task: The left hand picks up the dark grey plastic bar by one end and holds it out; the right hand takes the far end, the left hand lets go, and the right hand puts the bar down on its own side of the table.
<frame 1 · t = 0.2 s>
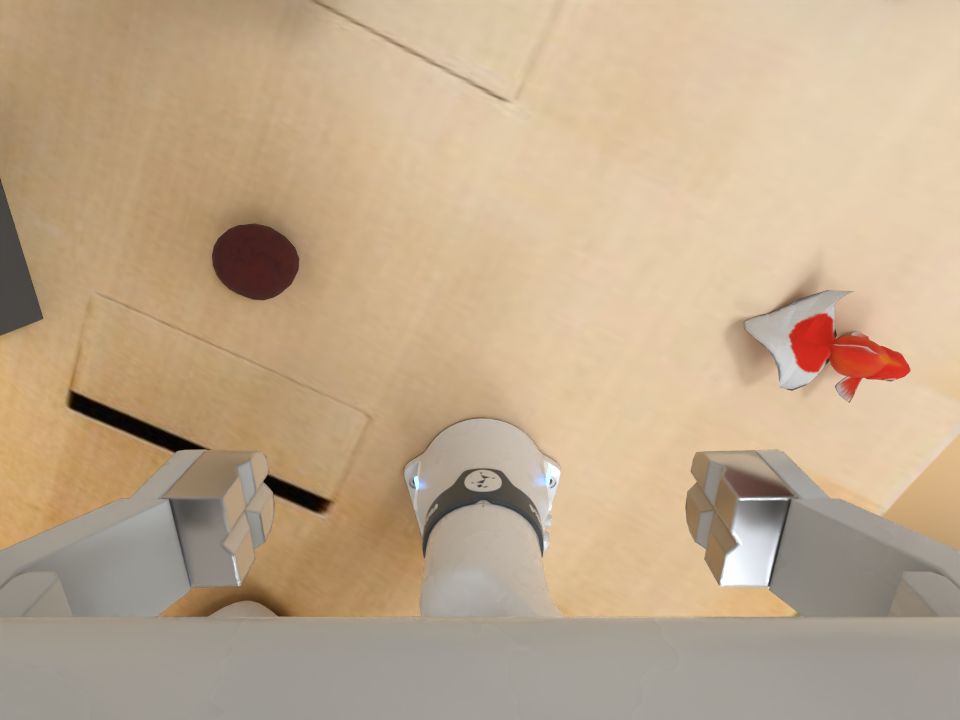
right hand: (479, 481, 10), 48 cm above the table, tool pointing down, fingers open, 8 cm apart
fish: (800, 336, 60), on the table
dark red plum: (270, 255, 56), on the table
grey plastic housing: (270, 651, 77), on the table
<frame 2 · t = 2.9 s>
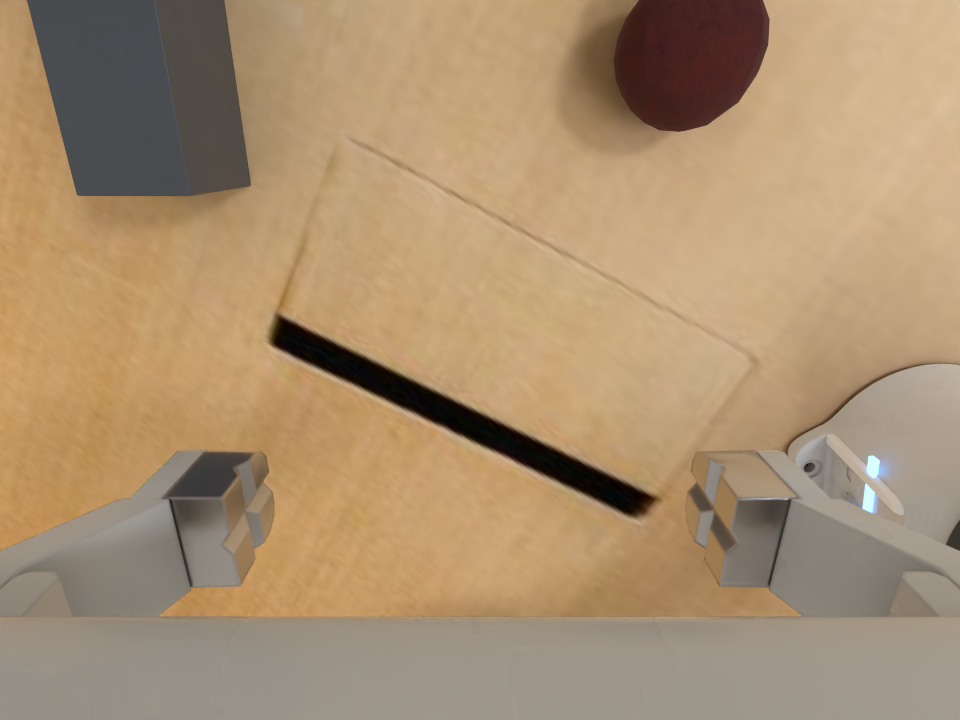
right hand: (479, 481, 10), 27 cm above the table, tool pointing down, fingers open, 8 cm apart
dark red plum: (666, 65, 32), on the table
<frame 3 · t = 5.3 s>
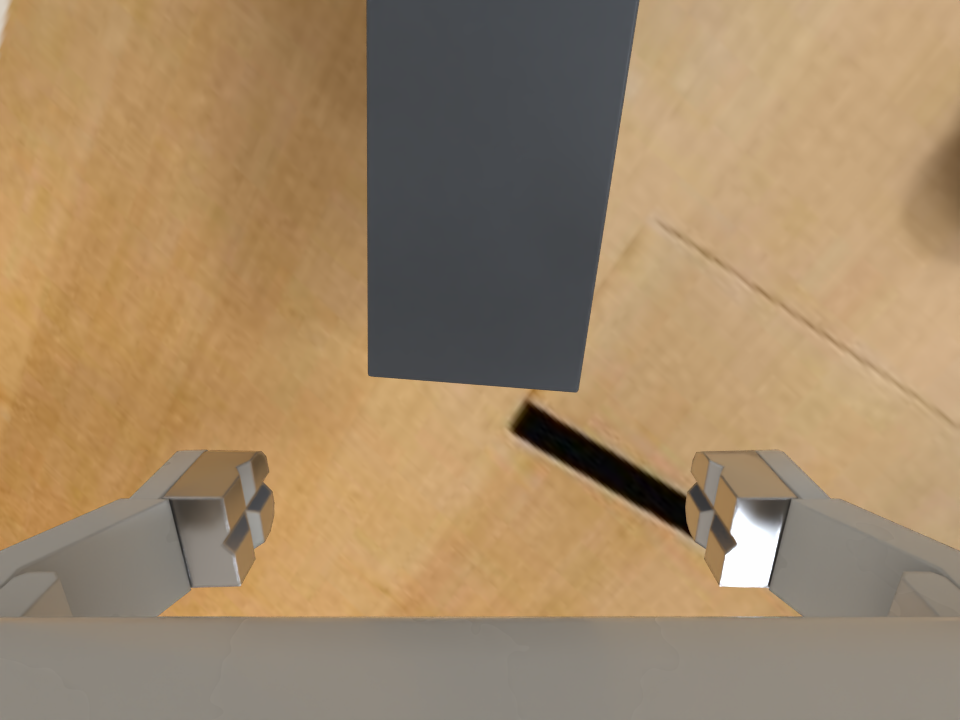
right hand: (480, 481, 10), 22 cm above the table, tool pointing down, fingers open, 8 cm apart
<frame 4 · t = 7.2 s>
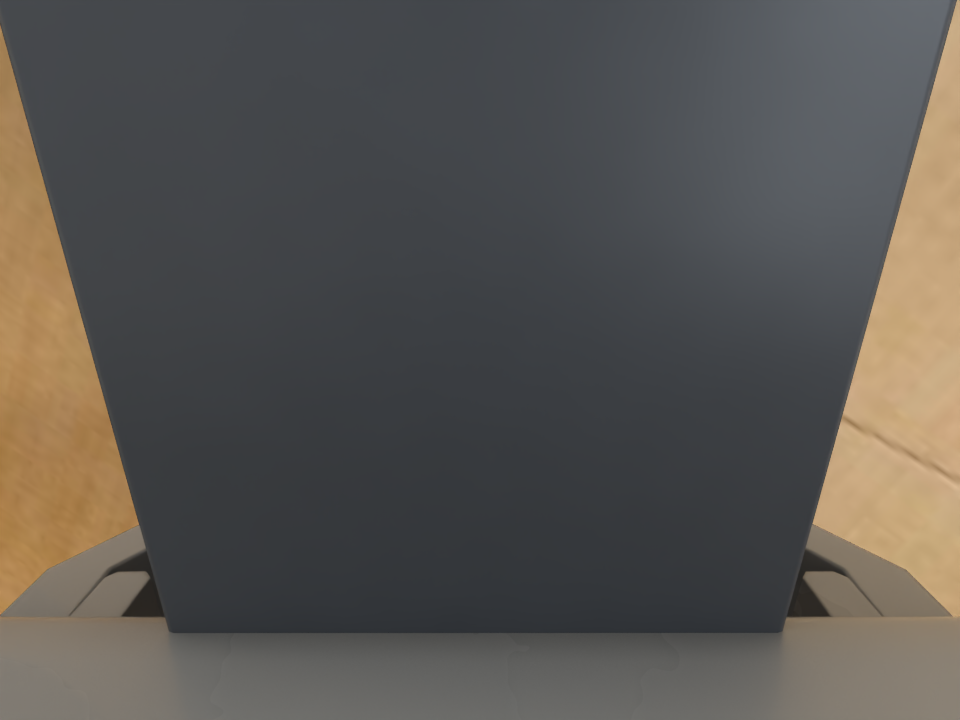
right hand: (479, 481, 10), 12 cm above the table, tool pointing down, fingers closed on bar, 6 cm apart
bar: (478, 75, 10), point 9 cm above the table, touching right hand, left hand
when the left hand's fingers open (10 cm above the table, at t = 8.1 s): bar stays where it is, held by the right hand.
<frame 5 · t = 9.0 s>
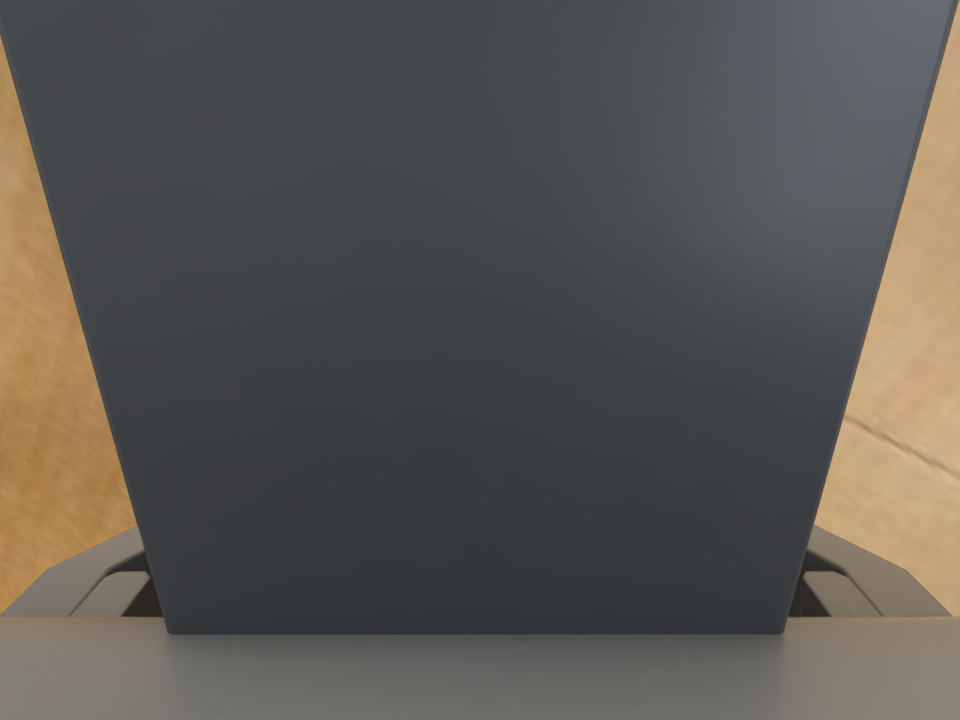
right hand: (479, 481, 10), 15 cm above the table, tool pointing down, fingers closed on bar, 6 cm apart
bar: (478, 74, 10), point 12 cm above the table, touching right hand
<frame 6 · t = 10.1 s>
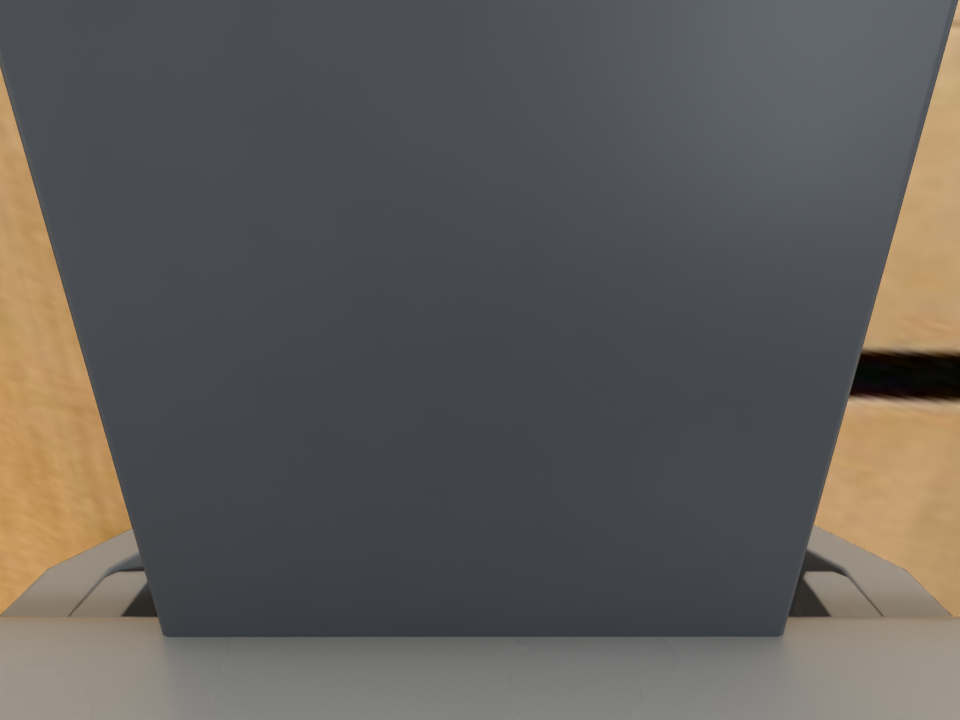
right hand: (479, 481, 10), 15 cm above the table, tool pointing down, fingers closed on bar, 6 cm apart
bar: (476, 73, 10), point 12 cm above the table, touching right hand
when the right hand's fingers open (4 cm above the table, at t = 13.3 s): bar stays where it is, on the table.
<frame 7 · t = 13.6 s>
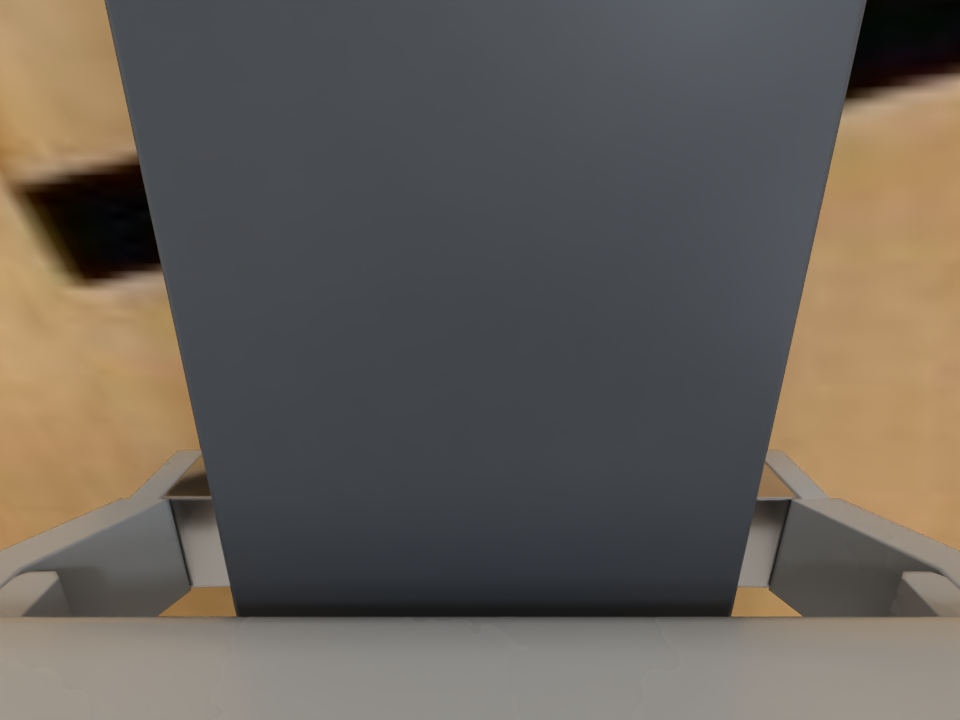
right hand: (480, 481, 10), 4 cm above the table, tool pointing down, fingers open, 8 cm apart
bar: (481, 95, 11), on the table
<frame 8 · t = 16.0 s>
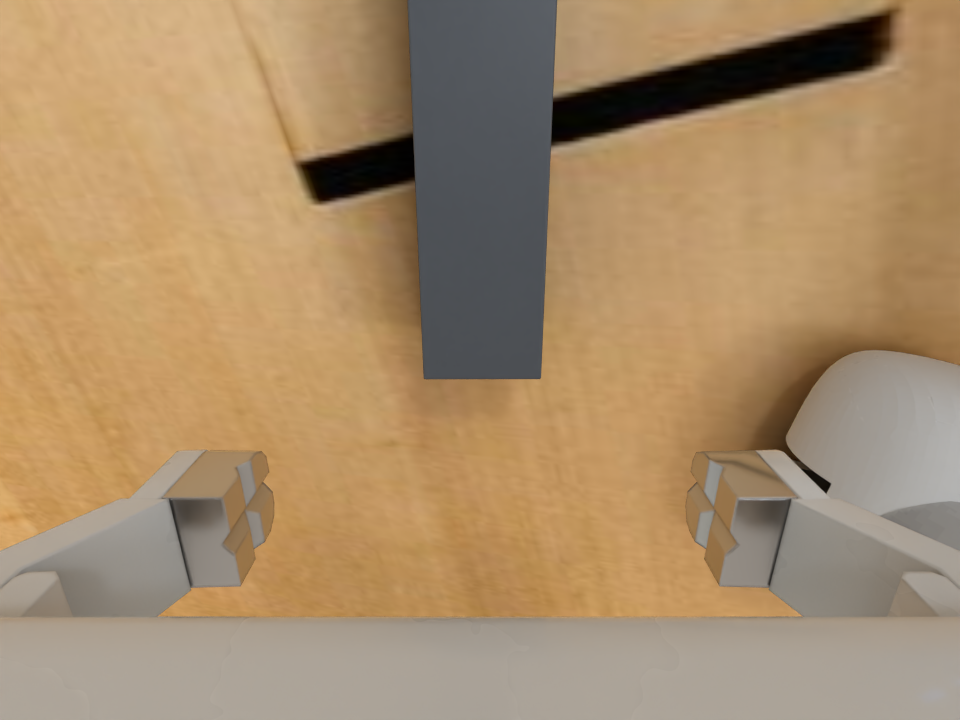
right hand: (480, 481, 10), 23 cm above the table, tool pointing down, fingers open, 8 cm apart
bar: (481, 126, 30), on the table
grey plastic housing: (910, 459, 37), on the table
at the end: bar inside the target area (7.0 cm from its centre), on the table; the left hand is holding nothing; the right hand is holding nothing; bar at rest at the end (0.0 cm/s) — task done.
